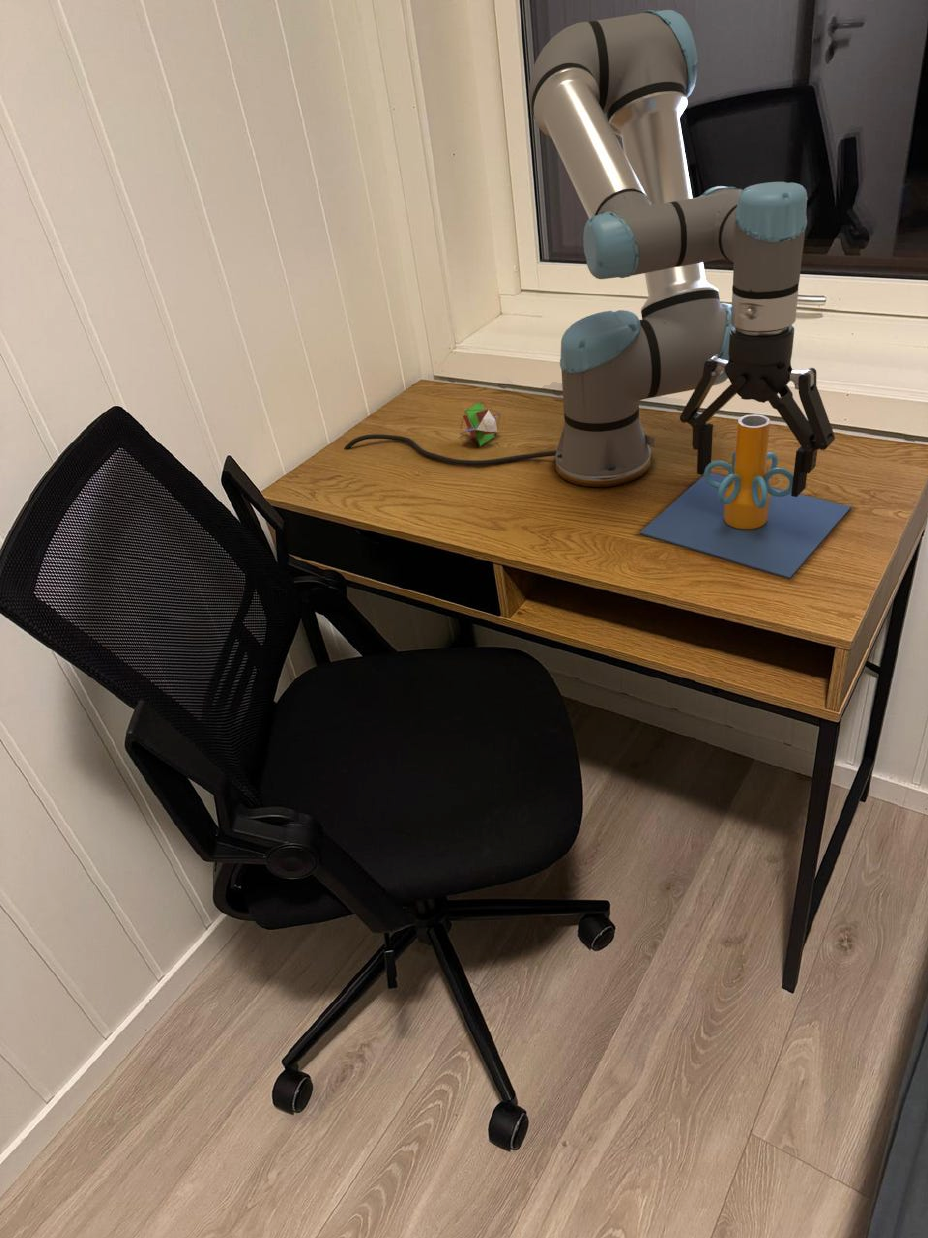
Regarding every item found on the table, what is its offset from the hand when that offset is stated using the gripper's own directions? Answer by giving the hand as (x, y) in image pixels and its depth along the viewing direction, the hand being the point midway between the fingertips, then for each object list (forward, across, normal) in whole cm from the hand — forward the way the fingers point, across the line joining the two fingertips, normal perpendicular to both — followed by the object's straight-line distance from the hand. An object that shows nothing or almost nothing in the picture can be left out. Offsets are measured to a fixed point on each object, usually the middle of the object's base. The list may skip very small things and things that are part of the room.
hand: (749, 481), depth 116 cm
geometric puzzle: (+6, -51, +3) cm, 52 cm away
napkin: (+7, 0, 0) cm, 7 cm away
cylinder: (+7, 0, 0) cm, 7 cm away
